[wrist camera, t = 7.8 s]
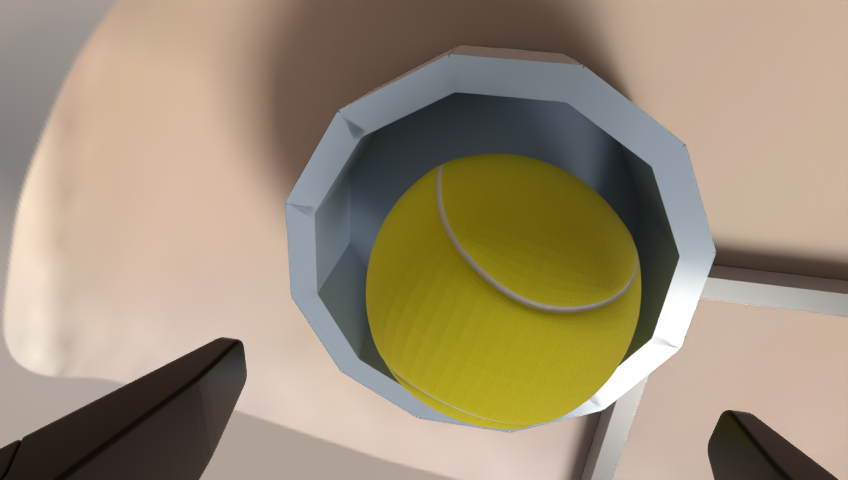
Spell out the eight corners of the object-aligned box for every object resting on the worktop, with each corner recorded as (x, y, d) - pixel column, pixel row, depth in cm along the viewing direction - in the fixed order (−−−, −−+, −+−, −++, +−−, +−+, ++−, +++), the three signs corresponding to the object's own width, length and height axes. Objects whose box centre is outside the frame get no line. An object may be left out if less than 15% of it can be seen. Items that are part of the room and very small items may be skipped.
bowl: (705, 64, 14) (781, 81, 10) (612, 367, 18) (641, 453, 15) (329, 33, 15) (274, 39, 11) (334, 328, 19) (297, 399, 16)
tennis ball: (432, 94, 14) (385, 159, 8) (647, 175, 15) (763, 299, 8) (370, 279, 18) (301, 429, 11) (548, 343, 18) (577, 526, 11)
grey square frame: (1139, 315, 15) (1180, 334, 14) (927, 560, 20) (947, 585, 19) (649, 257, 16) (658, 271, 15) (573, 501, 22) (577, 522, 21)
